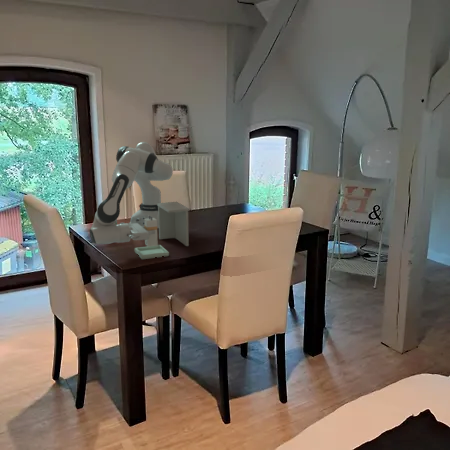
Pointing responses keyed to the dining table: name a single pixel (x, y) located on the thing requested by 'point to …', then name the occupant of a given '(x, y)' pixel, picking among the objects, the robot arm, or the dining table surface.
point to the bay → (173, 221)
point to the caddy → (151, 225)
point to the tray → (151, 252)
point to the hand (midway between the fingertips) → (152, 230)
